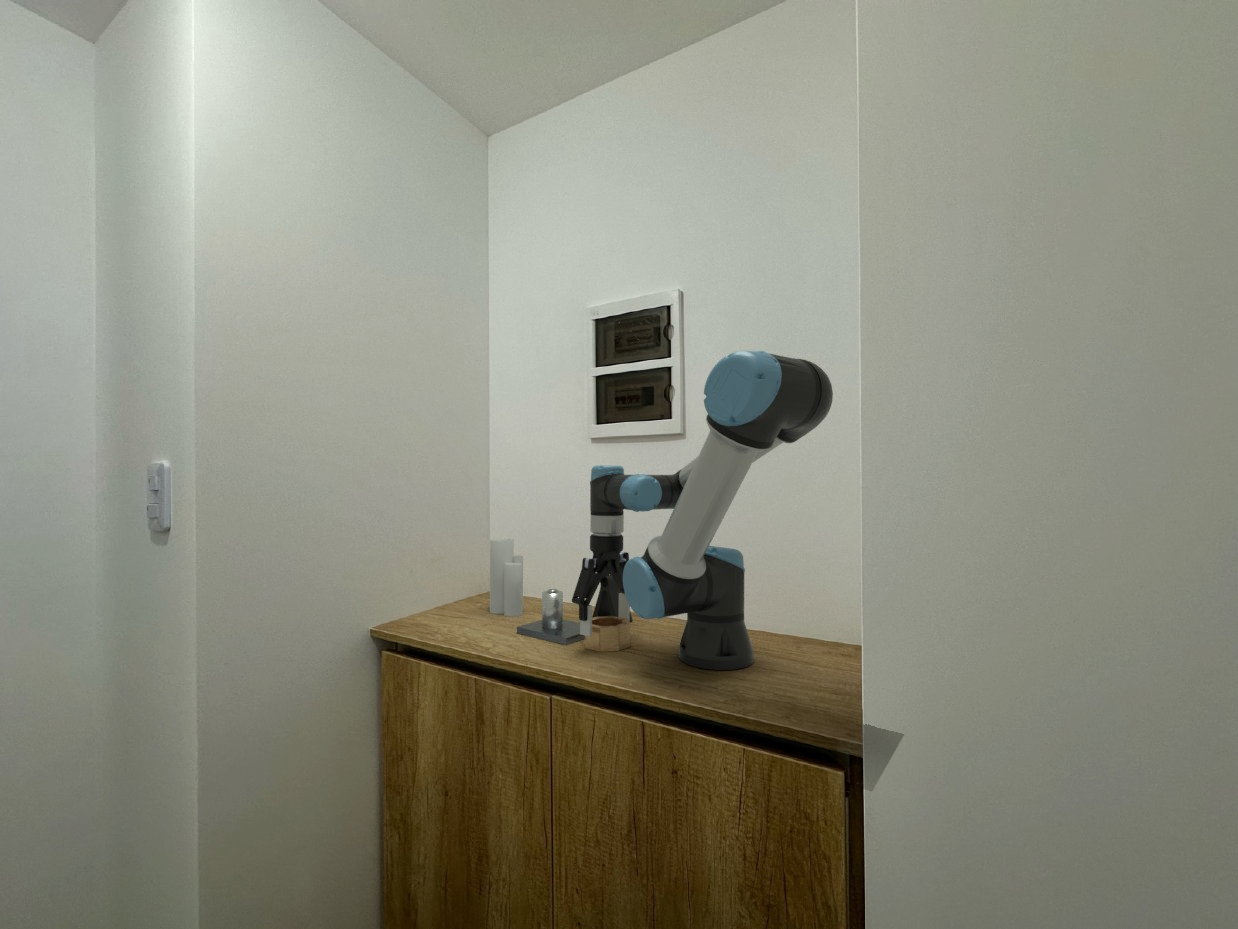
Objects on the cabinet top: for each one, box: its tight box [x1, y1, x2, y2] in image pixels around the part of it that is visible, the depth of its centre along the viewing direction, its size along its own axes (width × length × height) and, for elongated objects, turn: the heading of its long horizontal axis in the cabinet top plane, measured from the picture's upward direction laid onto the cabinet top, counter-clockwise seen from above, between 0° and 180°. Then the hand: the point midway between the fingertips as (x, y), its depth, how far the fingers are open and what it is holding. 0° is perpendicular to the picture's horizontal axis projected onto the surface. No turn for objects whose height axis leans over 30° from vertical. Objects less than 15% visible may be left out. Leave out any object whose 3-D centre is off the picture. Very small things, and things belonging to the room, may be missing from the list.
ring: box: [583, 616, 631, 653], centre depth 125 cm, size 10×10×5 cm
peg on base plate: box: [516, 588, 584, 646], centre depth 134 cm, size 16×12×10 cm
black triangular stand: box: [592, 575, 633, 623], centre depth 146 cm, size 9×6×12 cm, turn 50°
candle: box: [489, 538, 524, 618], centre depth 155 cm, size 11×7×20 cm, turn 56°
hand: (605, 628), depth 125 cm, fingers open, 13 cm apart
